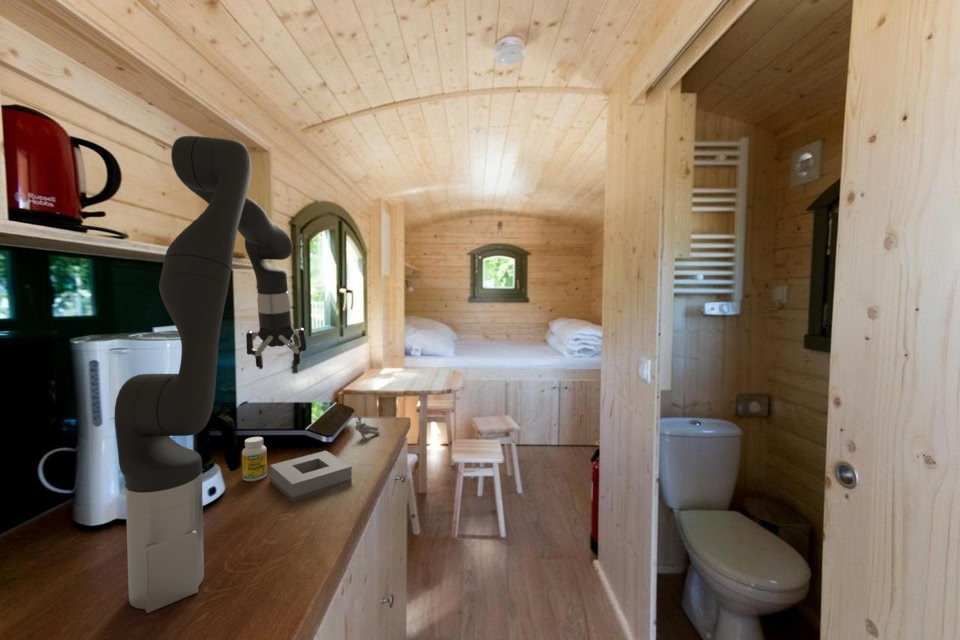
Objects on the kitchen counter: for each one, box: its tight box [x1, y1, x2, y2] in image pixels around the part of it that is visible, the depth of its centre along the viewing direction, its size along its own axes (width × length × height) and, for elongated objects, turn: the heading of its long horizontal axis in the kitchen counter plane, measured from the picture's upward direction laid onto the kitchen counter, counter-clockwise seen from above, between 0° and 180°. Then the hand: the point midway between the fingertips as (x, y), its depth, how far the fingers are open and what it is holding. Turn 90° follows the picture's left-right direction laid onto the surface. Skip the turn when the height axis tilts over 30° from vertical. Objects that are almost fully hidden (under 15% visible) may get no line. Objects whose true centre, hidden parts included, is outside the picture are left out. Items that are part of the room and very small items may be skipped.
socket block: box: [269, 450, 353, 503], centre depth 100 cm, size 14×14×4 cm
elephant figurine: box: [354, 415, 381, 443], centre depth 132 cm, size 10×6×9 cm
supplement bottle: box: [241, 436, 268, 482], centre depth 102 cm, size 5×5×10 cm
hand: (278, 366), depth 111 cm, fingers open, 8 cm apart
